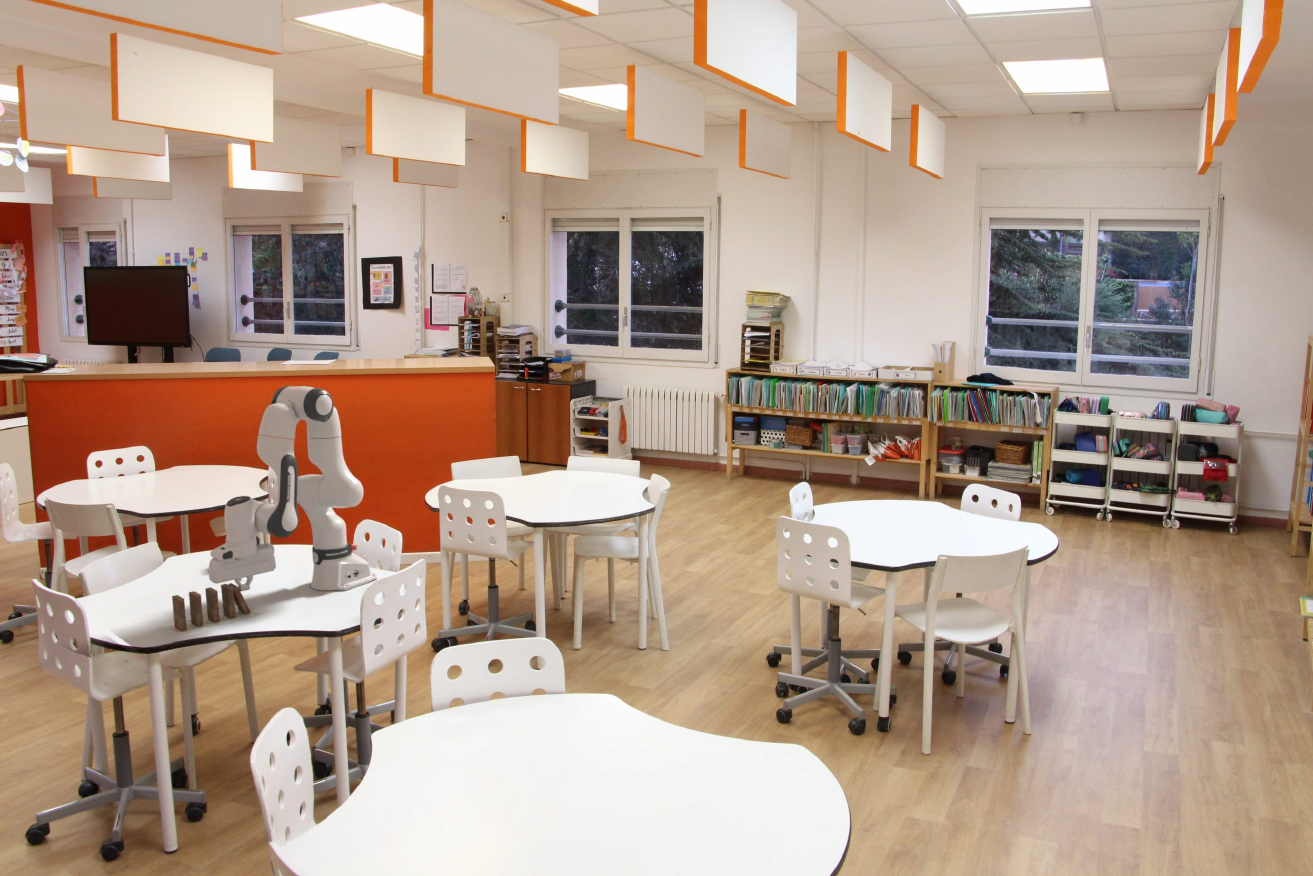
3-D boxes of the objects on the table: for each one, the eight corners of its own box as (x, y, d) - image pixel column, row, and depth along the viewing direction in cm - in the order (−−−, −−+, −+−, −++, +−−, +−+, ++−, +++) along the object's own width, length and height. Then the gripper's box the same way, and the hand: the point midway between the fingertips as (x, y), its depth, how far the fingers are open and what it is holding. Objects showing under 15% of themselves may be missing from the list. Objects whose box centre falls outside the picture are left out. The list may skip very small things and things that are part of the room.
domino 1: (196, 622, 300) (194, 591, 298) (203, 626, 296) (200, 594, 295) (191, 623, 299) (188, 592, 297) (198, 627, 295) (195, 596, 293)
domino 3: (228, 613, 307) (225, 583, 305) (235, 617, 304) (232, 587, 302) (223, 615, 306) (220, 584, 304) (230, 619, 302) (227, 588, 301)
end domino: (180, 626, 296) (177, 594, 294) (186, 630, 293) (184, 598, 291) (174, 627, 295) (172, 596, 293) (181, 631, 292) (178, 600, 290)
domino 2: (212, 617, 303) (210, 587, 302) (219, 621, 300) (217, 591, 298) (207, 619, 302) (205, 588, 300) (214, 623, 299) (212, 592, 297)
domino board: (246, 609, 313) (246, 606, 313) (259, 616, 307) (259, 613, 307) (169, 629, 296) (169, 626, 296) (181, 637, 290) (181, 634, 290)
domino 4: (243, 608, 310) (230, 582, 306) (250, 612, 307) (237, 586, 303) (239, 611, 309) (226, 585, 305) (246, 614, 306) (233, 589, 302)
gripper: (268, 539, 314) (271, 580, 317) (205, 552, 300) (208, 595, 302) (278, 543, 310) (280, 585, 313) (213, 556, 295) (216, 600, 298)
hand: (244, 590), depth 307 cm, fingers closed
